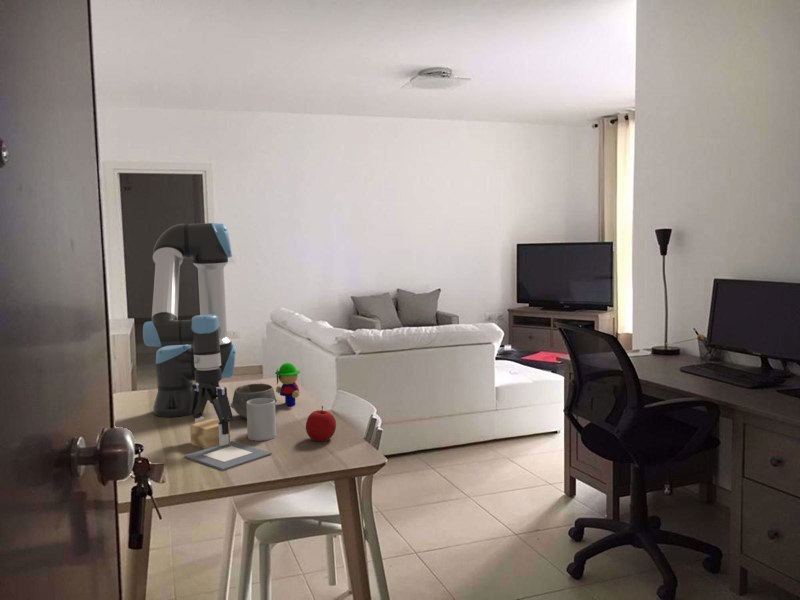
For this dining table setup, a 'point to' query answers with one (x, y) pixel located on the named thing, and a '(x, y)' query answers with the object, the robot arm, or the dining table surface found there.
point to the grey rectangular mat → (227, 455)
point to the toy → (288, 383)
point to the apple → (320, 425)
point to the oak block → (206, 433)
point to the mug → (261, 419)
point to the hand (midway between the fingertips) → (212, 442)
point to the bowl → (250, 396)
